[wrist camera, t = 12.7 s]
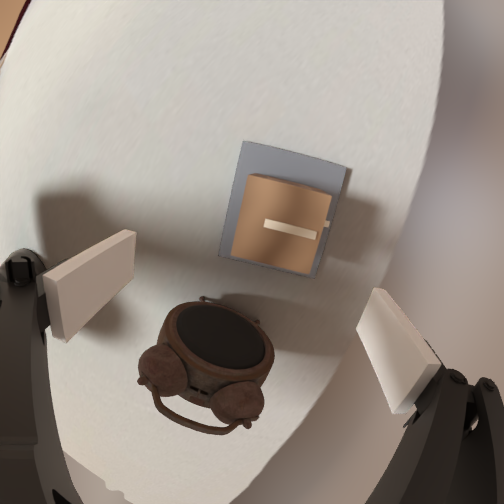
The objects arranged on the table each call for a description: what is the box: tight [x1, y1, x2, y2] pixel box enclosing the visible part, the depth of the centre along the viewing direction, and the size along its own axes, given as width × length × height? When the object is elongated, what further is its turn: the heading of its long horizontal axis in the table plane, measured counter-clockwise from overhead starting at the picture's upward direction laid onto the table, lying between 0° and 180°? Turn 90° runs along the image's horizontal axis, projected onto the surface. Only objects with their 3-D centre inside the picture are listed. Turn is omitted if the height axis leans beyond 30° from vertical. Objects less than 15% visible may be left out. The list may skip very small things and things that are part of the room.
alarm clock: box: [137, 297, 275, 435], centre depth 30 cm, size 15×7×20 cm, turn 67°
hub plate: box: [218, 141, 347, 279], centre depth 31 cm, size 13×15×6 cm
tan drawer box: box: [231, 173, 332, 274], centre depth 29 cm, size 8×8×8 cm
